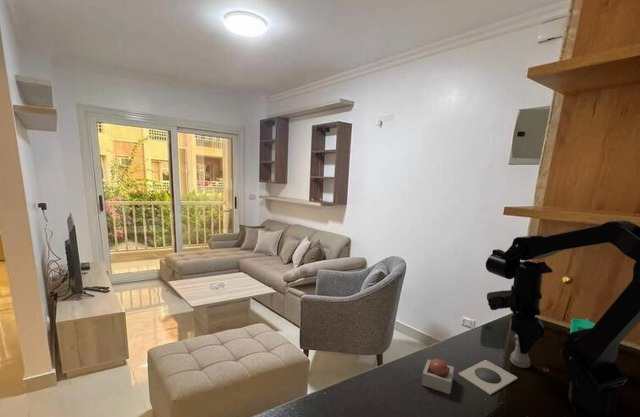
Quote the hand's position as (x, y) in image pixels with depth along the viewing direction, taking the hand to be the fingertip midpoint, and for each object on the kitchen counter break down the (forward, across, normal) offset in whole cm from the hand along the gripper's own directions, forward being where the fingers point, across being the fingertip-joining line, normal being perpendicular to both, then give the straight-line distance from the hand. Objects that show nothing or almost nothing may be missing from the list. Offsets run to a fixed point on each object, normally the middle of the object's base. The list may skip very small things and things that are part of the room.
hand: (521, 344), depth 78 cm
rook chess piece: (+6, 0, 0) cm, 6 cm away
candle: (+6, -9, +14) cm, 18 cm away
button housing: (+5, +18, -17) cm, 25 cm away
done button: (+3, +18, -17) cm, 25 cm away
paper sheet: (+5, +10, -7) cm, 13 cm away
